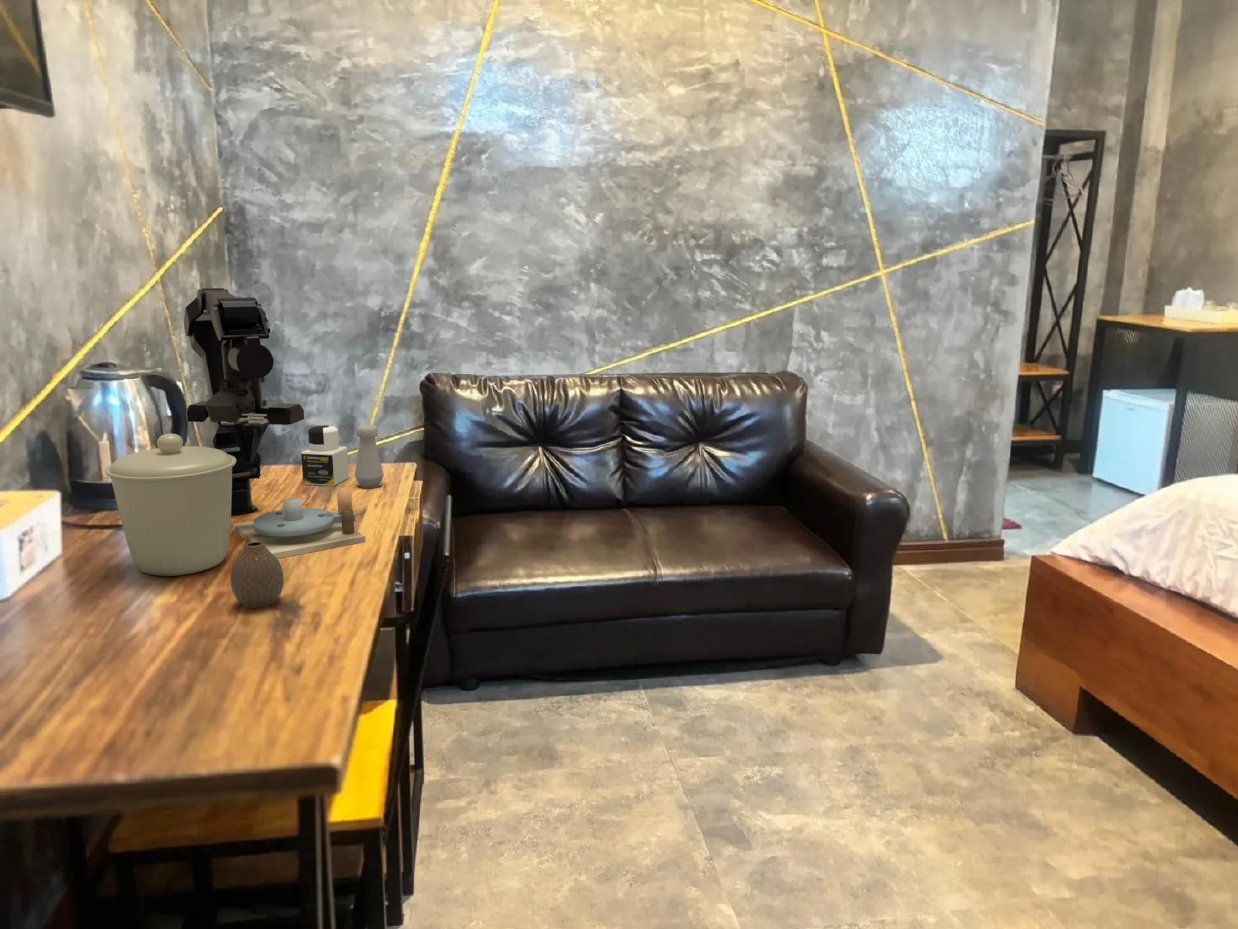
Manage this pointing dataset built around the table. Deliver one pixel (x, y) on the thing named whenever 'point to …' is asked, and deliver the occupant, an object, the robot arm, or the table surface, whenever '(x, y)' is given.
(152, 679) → the table surface
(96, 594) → the table surface
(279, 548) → the board
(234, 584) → the vase
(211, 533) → the canister
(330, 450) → the medicine bottle
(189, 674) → the table surface
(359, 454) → the salt shaker
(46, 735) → the table surface
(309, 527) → the flange plate
